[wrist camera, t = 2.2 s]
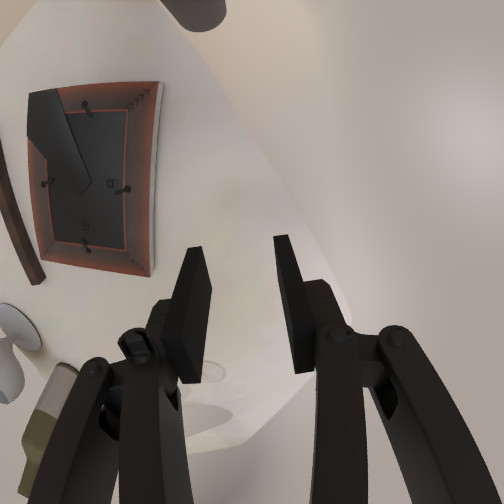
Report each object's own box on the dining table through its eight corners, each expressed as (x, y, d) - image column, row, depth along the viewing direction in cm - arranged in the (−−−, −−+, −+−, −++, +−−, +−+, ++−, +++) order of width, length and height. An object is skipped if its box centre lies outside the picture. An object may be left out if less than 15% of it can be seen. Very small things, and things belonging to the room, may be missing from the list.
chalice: (18, 352, 44) (-9, 402, 31) (-16, 301, 37) (-53, 349, 24) (57, 353, 43) (28, 414, 30) (18, 295, 36) (-26, 354, 23)
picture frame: (40, 92, 23) (48, 251, 33) (28, 93, 21) (39, 260, 31) (165, 83, 24) (155, 267, 34) (158, 81, 22) (149, 278, 32)
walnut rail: (-10, 129, 23) (-20, 132, 22) (-3, 124, 23) (-12, 126, 22) (38, 278, 35) (31, 285, 33) (46, 277, 35) (39, 284, 33)
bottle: (63, 356, 43) (10, 488, 17) (90, 378, 46) (49, 509, 20) (50, 365, 45) (2, 483, 19) (75, 385, 48) (36, 502, 22)
